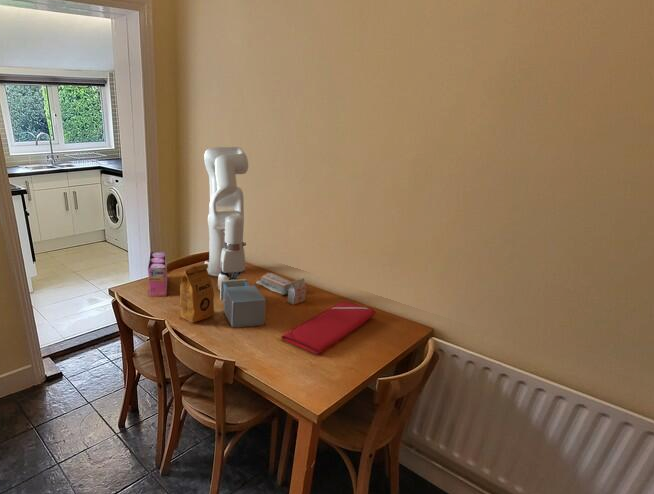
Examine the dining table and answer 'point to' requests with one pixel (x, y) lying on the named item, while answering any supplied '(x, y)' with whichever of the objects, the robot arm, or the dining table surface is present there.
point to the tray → (231, 285)
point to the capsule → (221, 279)
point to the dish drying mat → (328, 327)
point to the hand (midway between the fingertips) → (232, 286)
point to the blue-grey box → (244, 306)
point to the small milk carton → (297, 292)
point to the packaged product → (275, 283)
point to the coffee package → (196, 294)
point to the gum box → (157, 274)
